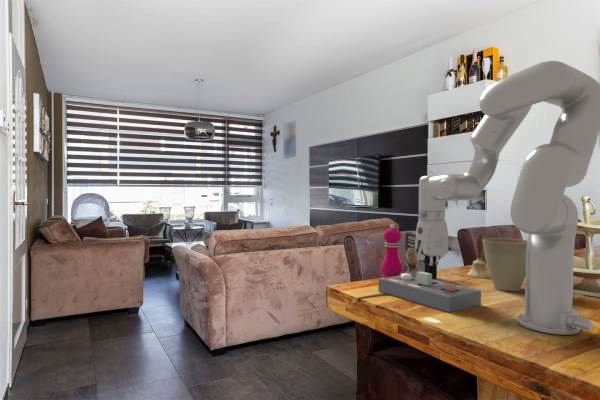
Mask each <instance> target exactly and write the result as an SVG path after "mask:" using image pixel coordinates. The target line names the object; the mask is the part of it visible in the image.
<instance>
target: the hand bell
mask: <svg viewBox="0 0 600 400" xmlns="http://www.w3.org/2000/svg"><path fill="white" fill-rule="evenodd" d="M483 239H484V237H483V236H482V233H477V237H476V238H475V247H476V252H477V253H476V260H473V261H472V266H471V269H470V270H469V271H468V272H467V274H466V275H467V276H468V277H470V278H471V277H472V278H477V279H491V277H490V273H489V271H488V268H487V263H486V261H484V260H483V256H482V255H483V254H482V252H483V249H484V247H483Z"/></svg>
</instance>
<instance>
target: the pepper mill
mask: <svg viewBox="0 0 600 400" xmlns="http://www.w3.org/2000/svg"><path fill="white" fill-rule="evenodd" d="M401 238H402V235H401V232H400V230H398V229H397V228H396V225H395V224H393V223H392V224H390V225H389V228H388V229H386V230H385V231H384V232H383V239H384V240H385V242H384V247H385V256H384V258H383V261H382V263H381V267H380V268H381V271H382V273H383V274H382V278H386V277H393V276H400V275H401V274H402V272H403V265H402V262H401V260H400V258H399V251H398V249H399V247H400V240H401Z"/></svg>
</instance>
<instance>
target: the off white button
mask: <svg viewBox="0 0 600 400" xmlns="http://www.w3.org/2000/svg"><path fill="white" fill-rule="evenodd" d="M400 275H401V280H404V281H411V280H412V275H411V274H407V273H405V272H403V273H400Z"/></svg>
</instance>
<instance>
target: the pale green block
mask: <svg viewBox="0 0 600 400" xmlns="http://www.w3.org/2000/svg"><path fill="white" fill-rule="evenodd" d="M416 283H419V284H422V286H426V285H432V274H430V273H426V272H417V279H416Z"/></svg>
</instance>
